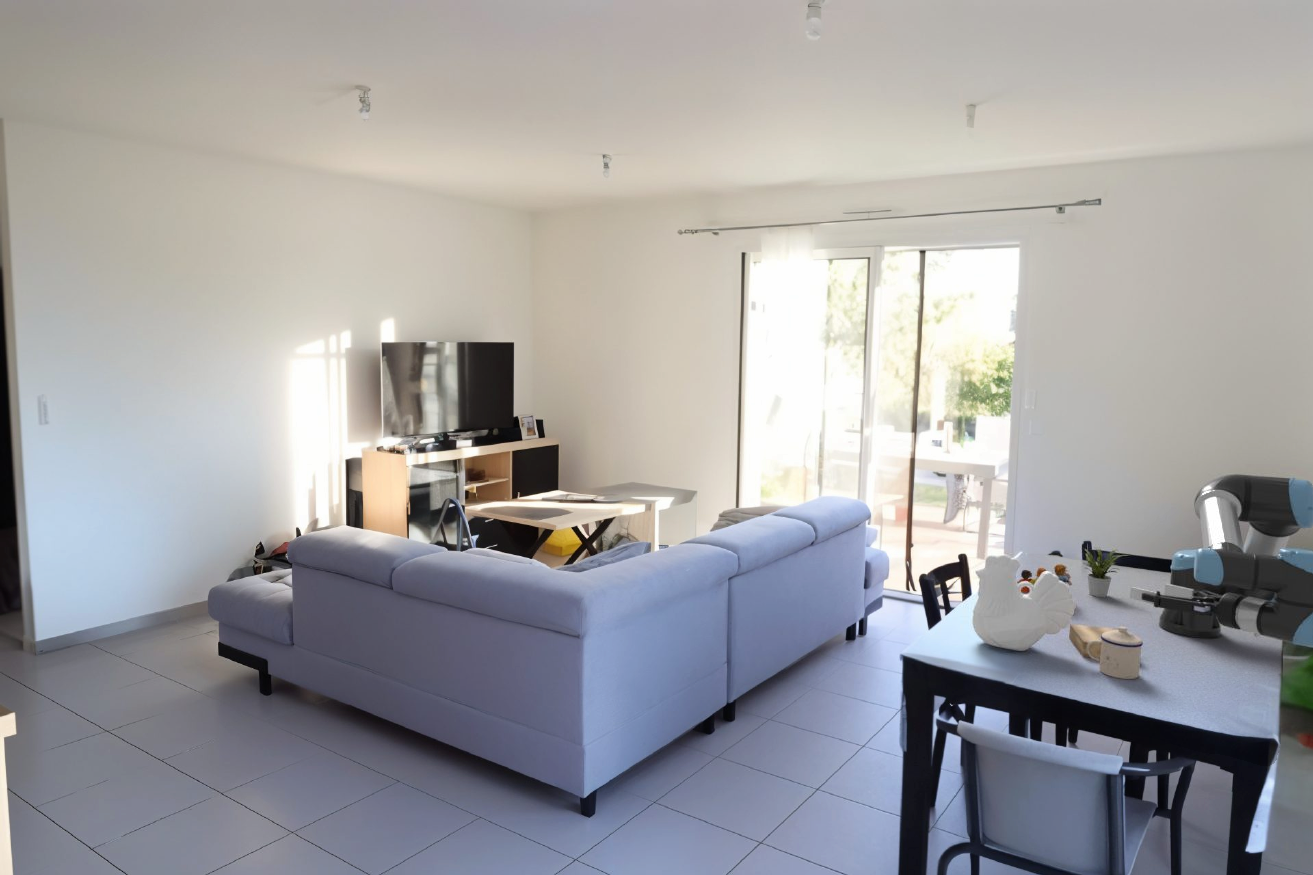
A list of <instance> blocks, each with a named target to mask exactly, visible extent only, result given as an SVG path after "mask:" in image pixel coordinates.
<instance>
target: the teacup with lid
mask: <svg viewBox="0 0 1313 875" xmlns="http://www.w3.org/2000/svg"><path fill="white" fill-rule="evenodd" d="M1117 629H1118V630H1113V631H1109V632H1104V633H1103V634H1102V635H1101V639H1102V641H1099V640H1092V641H1090V642H1089V643H1088V644H1087V652H1088V654H1089V656H1090V657H1091V659H1093V660H1095V661H1098V662H1099V666H1098V667H1099V670H1100V672H1101V673H1103V674H1105V675H1107V676H1109V677H1113V678H1115V679H1122V680H1134V679H1138V677H1139V674H1140V668H1141V667H1140V665H1141V654H1142V653H1141V652H1142V646H1143V644H1144V643H1143V640H1142V639H1141V638H1140V637H1139V636H1137V635H1134V634H1133V633H1131V632H1130V631H1128V628H1127V627H1126V626H1118V628H1117ZM1094 643H1097V644H1101V654H1100V657H1096V656H1094V655H1093V654H1092V653H1091V651H1090V645H1092V644H1094ZM1090 657H1089V658H1090Z"/></svg>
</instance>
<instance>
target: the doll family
mask: <svg viewBox="0 0 1313 875" xmlns="http://www.w3.org/2000/svg"><path fill="white" fill-rule="evenodd" d="M1053 569H1054V574H1055V575H1057V576H1058V578H1059V580H1060V581H1062V582H1064V583H1065V584H1066V585H1067V584H1068V586H1072V585H1073V582H1072V581H1071V575H1070V574H1069V573H1067V572H1068V570H1067V566H1065V565H1064V564H1062V563H1060V564H1056V565H1055V566H1054V567H1053ZM1044 571H1048V570H1047V569H1046V568H1044V567H1039V568H1038V569H1037V570H1036V574H1034V576H1035V577H1036V578H1032V577H1033V574H1032V573H1033V572H1032V571H1031V570H1027V569H1023V570H1022V571H1021V574H1020V575H1021V576H1020V577H1021V578H1020V579H1019V580H1017V585H1018V584H1019V583H1020V582H1023V581H1028V582H1030V583H1031V584H1032V585H1034V584H1035V582H1036V581H1037V579H1038V578H1039V576H1040V575H1041V574H1042V573H1043V572H1044ZM1029 592H1030V589H1029V588H1028V587H1027V586H1024V587H1022V588H1021V593H1022V594H1028V593H1029Z"/></svg>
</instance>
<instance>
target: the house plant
mask: <svg viewBox="0 0 1313 875" xmlns="http://www.w3.org/2000/svg"><path fill="white" fill-rule="evenodd" d="M1082 549H1084V551H1086V553H1085V557H1086V558H1085V559H1086V561H1087V562H1082V564H1083V565H1086V566H1088V567H1090V568H1091V569H1089V568H1088V567H1084V568H1083V569H1085V570H1086V569H1087V570H1088V571H1090V572H1091V573H1088V574H1087V584H1088V595H1090V596H1092V595H1094V596H1093V597H1097V598H1098V597H1099V598H1106V597H1107V596H1108V593H1109V589H1110V585H1111V581H1112V578H1113V577H1111V576H1109V575H1108V573H1118V571H1116V570H1119V568H1117V567H1113V568H1111V566H1113V565H1114V564H1115V562H1114V561H1115V560H1116V559H1118V558H1121V557H1123V556H1125V557H1126V556H1129V557H1130V555H1128V554H1122V555H1119V554H1117V555H1116V554H1115V552H1117V551H1118V549H1114V550H1112V551H1110V552H1108V554H1107V555H1106V557H1105V559H1104V558H1103V552H1102V549H1101V547H1099V548H1097V547H1095V550H1096V552H1097V554H1098V557H1097V559H1096V560H1095V558H1094V555H1092V553H1091V552H1090V551H1088V550H1087V549H1086V548H1082ZM1081 553H1083V554H1084V552H1081ZM1113 554H1115V555H1113ZM1103 559H1104V560H1103Z"/></svg>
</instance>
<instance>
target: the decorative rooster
mask: <svg viewBox="0 0 1313 875" xmlns="http://www.w3.org/2000/svg"><path fill="white" fill-rule="evenodd" d="M984 562H985V563H984V568H981V569H978V570H975V571H974V572H975V575H976V576H977V577H978V580H979V581H978V590H977V596H978V597H977V601H976V603H975V605H974V608H973V610H972V626H973V629H974V632H975V633H976V635H977V636H978V637H979V639H981V640H982V642H984V643H986V644H987V645H990V646H994V647H998V648H1001V649H1008V650H1012V651H1018V652H1020V651H1021V652H1023V651H1026V650H1027V651H1028V650H1029V649H1030V648H1032V646H1034V645H1036V644H1037V642H1039V641H1040V640H1041V639H1042V638H1043V637H1044V636H1045V635H1046V634H1047V635H1055V634H1057V633H1059V632H1060V631H1061V629H1066V628H1068V627H1070V624H1071V621H1072V620H1073V615H1075V610H1076V608H1077V602H1076V601H1075V600H1074V598H1072V596H1073V595H1072V592H1071V591H1070V587H1069V584H1068V585H1066V584H1067V583H1066V584H1065V583H1064V582H1062V581H1060V580H1059V578H1058V576H1057V575H1055V574H1056V573H1053V572H1051V570H1047V571H1044V572H1043V573H1042V574H1041V575H1040V576H1039V578H1038V577H1037V578H1038V579H1037V581H1036V582H1035V584H1034V585H1032V584H1031V583H1030V582H1028V581H1023V582H1020V583H1019V584H1018V585H1017V581H1018V580H1017V573H1018V571H1019V569H1020V567H1021V563H1020V560H1019V559H1018V558H1016V557H1011V556H1009V555H1008V554H1003V553H1000V554H997V555H993V554H991V555H990V554H989V555H988V556H986V558H985V561H984ZM1024 586H1027V587H1028V588H1029V589H1030V592H1029V593H1028V594H1022V593H1021V588H1022V587H1024Z"/></svg>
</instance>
